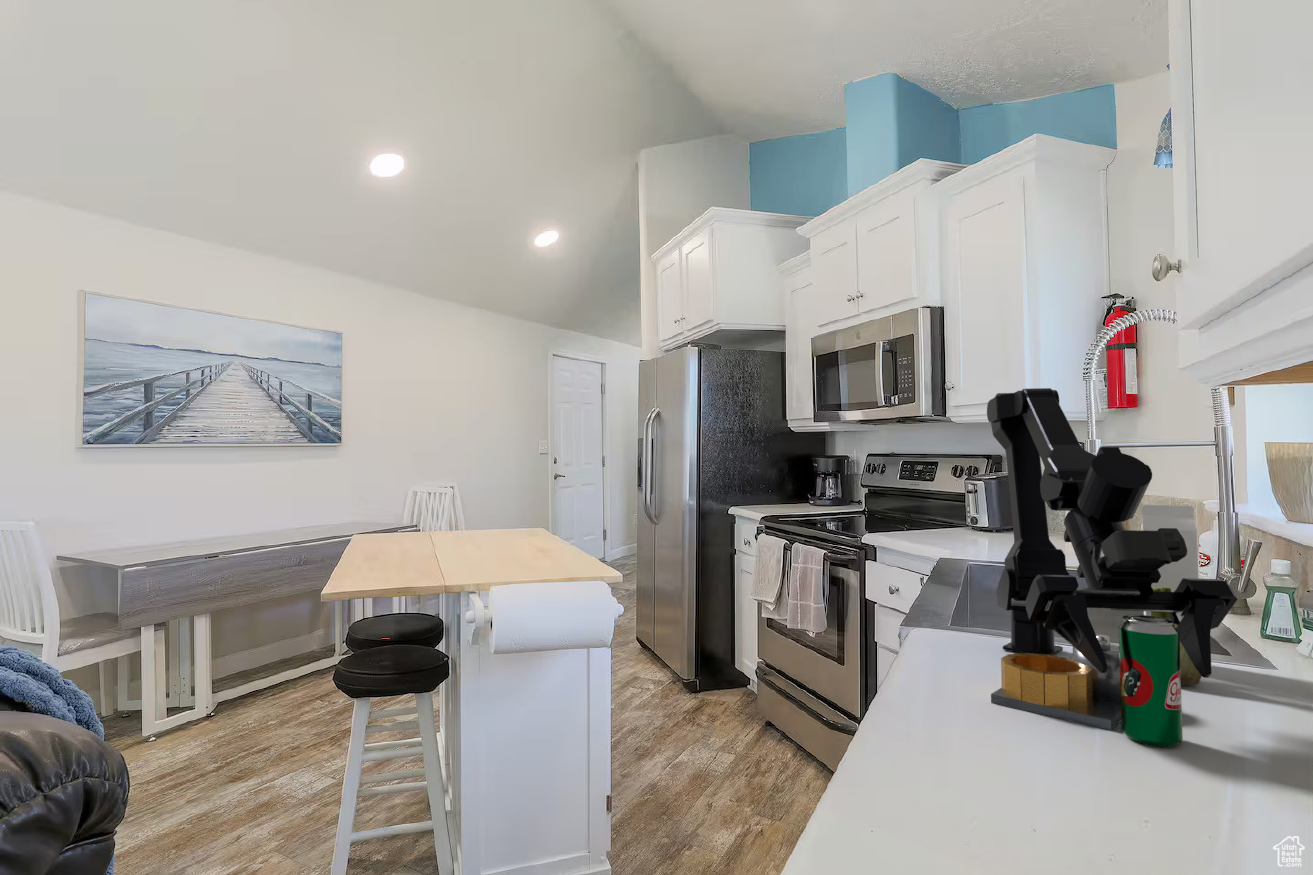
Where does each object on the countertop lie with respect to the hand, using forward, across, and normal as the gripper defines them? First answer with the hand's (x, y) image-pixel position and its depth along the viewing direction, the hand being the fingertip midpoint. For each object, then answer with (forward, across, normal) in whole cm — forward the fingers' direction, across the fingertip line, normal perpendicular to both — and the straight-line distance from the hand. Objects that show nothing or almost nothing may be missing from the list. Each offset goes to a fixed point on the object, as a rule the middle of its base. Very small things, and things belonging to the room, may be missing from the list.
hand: (1155, 673), depth 70 cm
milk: (-18, +17, +27) cm, 37 cm away
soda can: (+4, 0, +6) cm, 7 cm away
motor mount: (-4, -4, +13) cm, 15 cm away
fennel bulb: (-11, +12, +21) cm, 27 cm away
